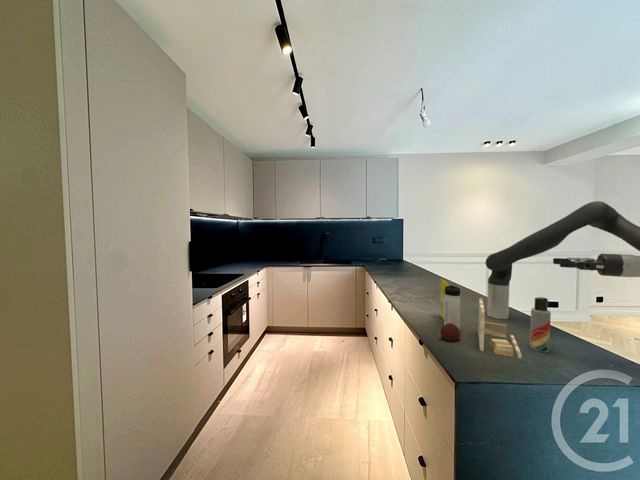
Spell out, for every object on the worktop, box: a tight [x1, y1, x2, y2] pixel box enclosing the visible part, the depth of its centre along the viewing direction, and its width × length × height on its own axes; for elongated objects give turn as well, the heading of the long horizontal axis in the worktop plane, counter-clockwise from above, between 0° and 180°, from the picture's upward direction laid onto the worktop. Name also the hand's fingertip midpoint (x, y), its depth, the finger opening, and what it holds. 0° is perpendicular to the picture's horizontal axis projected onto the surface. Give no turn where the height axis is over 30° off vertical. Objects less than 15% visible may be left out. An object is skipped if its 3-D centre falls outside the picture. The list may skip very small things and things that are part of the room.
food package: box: [439, 278, 450, 321], centre depth 133 cm, size 15×1×20 cm, turn 168°
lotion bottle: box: [529, 296, 552, 353], centre depth 101 cm, size 6×6×20 cm
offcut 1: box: [490, 338, 514, 353], centre depth 99 cm, size 6×5×2 cm
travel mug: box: [443, 284, 461, 330], centre depth 120 cm, size 6×7×20 cm
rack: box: [477, 297, 523, 360], centre depth 105 cm, size 20×13×16 cm, turn 151°
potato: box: [440, 323, 461, 342], centre depth 110 cm, size 7×8×7 cm
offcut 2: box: [490, 342, 514, 357], centre depth 99 cm, size 6×5×2 cm
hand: (556, 262), depth 97 cm, fingers open, 8 cm apart
